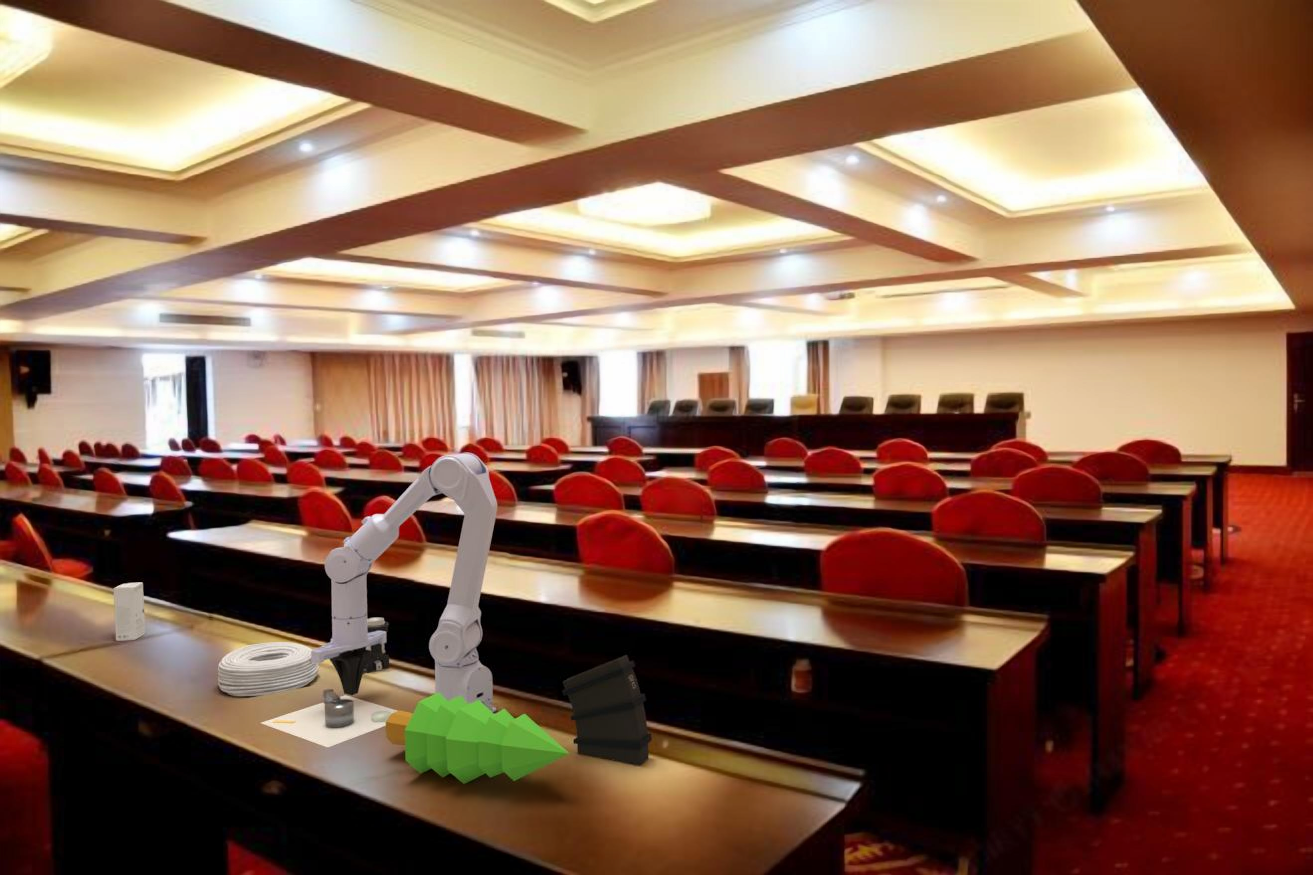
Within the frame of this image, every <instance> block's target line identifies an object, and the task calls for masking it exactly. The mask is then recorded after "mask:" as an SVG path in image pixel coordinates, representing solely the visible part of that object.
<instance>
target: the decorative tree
mask: <svg viewBox="0 0 1313 875" xmlns="http://www.w3.org/2000/svg"><path fill="white" fill-rule="evenodd" d="M385 730H386V731H385V734H386V735H385V737H386V739H387V740H388V741H389V742H390V743H391V744H392V745H397V746H398V745H399V746H404V747H405V748H404V752H405V754H404V755H405V756H404V758H405V762H407V763H408V764H409V765H410V766H411V767H413V768H414V769H415V771H417V772H418V773H420V774H423V773H425V772H427V771H429V770H433V771H434V772H435V773H436V774H438V775H439V776H440V777H441V778H442V779H443V778H445V777H446V776H448V775H450V774H451V775H452V776H454V777H455V778H456V779H457V780H458V781H459V782H461V783H462V784H463V785H466V784H467V783H469V782H471V781H473V780H476V779H477V778H479V777H481V776H483V775H485V774H486V775H487V776H488V777H489V778H493V777H495V776H497V775H500V774H503V773H504V774H505V775H507V776H508V778H510V779H511V780H512V781H513V782H515V781H517V780H520V779H521V778H523V777H525V776H527V775H529V774H531V773H533V772H535V771H537V770H539V769H541V768H543V767H545V766H548V765H549V764H551V763H553V762H555V761H558V760H559V759H561V758H563V757H565V756H567V755H569V754H570V753H569V751H568V750H567V749H565V748H564V747H563V746H562V745H561V744H559V743H558V741H556V740H555V739H554V738H553V737H552V736H550V734H548V733H547V732H546V731H545V730H544V729H542V727H541V726H539V725H538V723H536V722H535V721H534V720H532V719H531V718H530V716H528V715H527V714H525V713H523V714H521V715H520V716H518V717H515V718H514V716H512V715H511V713H509V711H507V709H505V708H503V709H501V710H500V711H498V712H492V711H490V710H489V709H488V708H487V707H486V706H485V705H484V704H483V703H482V702H480V701H479V700H477V701H475V702H473V703H471V704H468V703H467V702H466V701H465V700H464V699H463V698H462V697H461V696H458V697H456V698H453V699H451V700H449V701H447V700H446V699H445V698H444V697H443V696H442V695H441V694H440V693H435V694H433V695H430V696H428V697H426V698H423V699H422V700H419V701H418V703H417V705H416V707H415V709H414V711H413V712H409V711H404V710H401V709H400V710H397V712H394V713H392V714H391V715H390V717H389V718H388V719H387V721H386V726H385Z"/></svg>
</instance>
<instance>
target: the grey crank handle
mask: <svg viewBox="0 0 1313 875" xmlns="http://www.w3.org/2000/svg"><path fill="white" fill-rule="evenodd" d="M322 692H323V693H322V694H323V695H322V696H323V697H322V698H323V700H322V701H323V702H322V703H324V704H325V725H326V726H328V727H342V726H346V725H349V724H351V723H353V722H354V702H353V701H352V700H349V699H340V697H341V696H339V695H338V694H337V693H336V692H335V691H334V689H331V688H327V689H324V690H323V691H322Z"/></svg>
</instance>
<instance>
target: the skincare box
mask: <svg viewBox="0 0 1313 875" xmlns="http://www.w3.org/2000/svg"><path fill="white" fill-rule="evenodd" d="M113 604H114V626H115V628H114V629H115V630H114V631H115V640H116V641H118V642H122V641H123V642H124V641H136V640H137V639H139V638H142V636H144V635H145V634H146V618H145V600H144V583H143V582H127V583H122V584H120V585H117V586H116V587H114V588H113Z"/></svg>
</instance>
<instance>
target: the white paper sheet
mask: <svg viewBox="0 0 1313 875" xmlns="http://www.w3.org/2000/svg"><path fill="white" fill-rule="evenodd" d="M339 697H340V699H349V700H352V701H353V702H354V722H353V723H351V724H349V725H346V726H342V727H328V726H326V725H325V704H324V703H323V702H319V703H316V704H314V705H311V706H308V707H305V708H302V709H299V710H296V711H292V712H289V713H285V714H284V715H280V716H278V717H275V718H271V719H269V720H265V721H263V722H262V721H261V722H260V724H262V725H264V726H267V727H270V728H272V729H274V730H275V729H276V730H277V731H281V732H283V733H285V734H289V735H292V736H295V737H298V738H300V739H304V740H306V741H308V742H311V743H314V744H317V745H319V746H322V747H325V748H331V747H333V746H336V745H338V744H341V743H344V742H346V741H350V740H351V739H355V738H357V737H360V736H362V735H365V734H367V733H370V732H373V731H376V730H378V729H380V728H381V729H382V728H383V727H386V721H387V719H388V718H389V717H390V715H391V714H392V713H394V712H397V711H398V710H396V709H393V708H390V707H387V706H385V705H380V704H376V703H373V702H370V701H367V700H363V699H360V698H357V697H353V696H351V695H348V694H344V695H342V696H339Z"/></svg>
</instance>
